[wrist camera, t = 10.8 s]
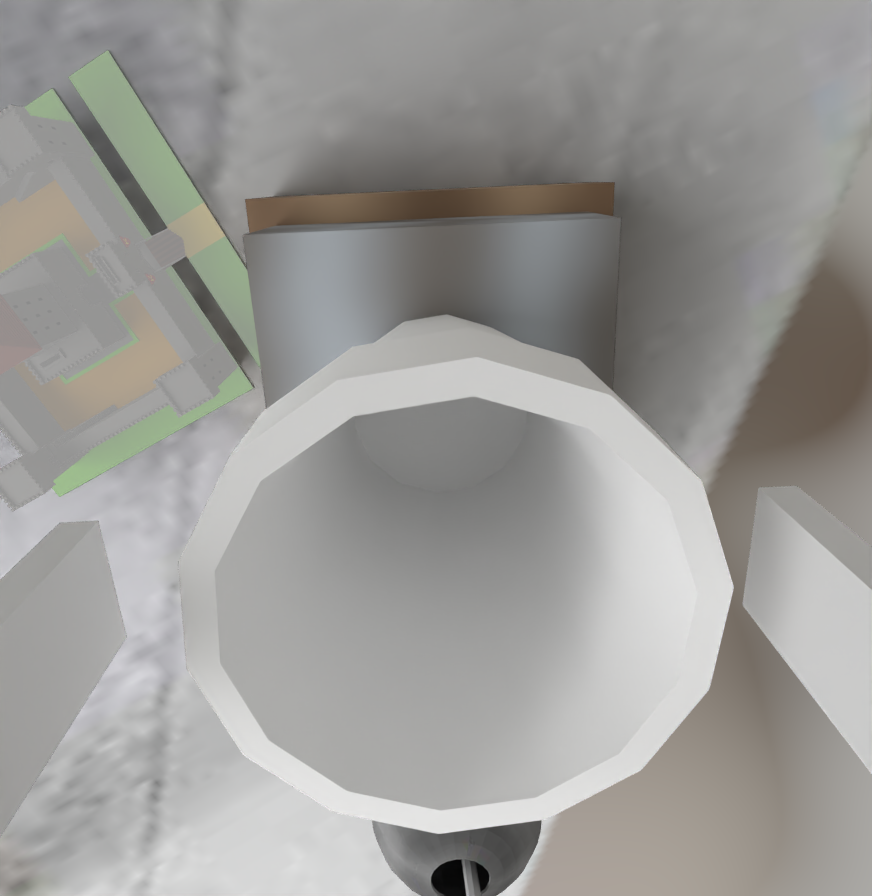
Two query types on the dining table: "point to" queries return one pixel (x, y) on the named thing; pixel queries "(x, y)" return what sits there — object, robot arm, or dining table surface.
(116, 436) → the castle model
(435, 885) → the beverage cup
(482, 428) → the foam cup
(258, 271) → the block tower
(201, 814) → the dining table surface
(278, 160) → the dining table surface
